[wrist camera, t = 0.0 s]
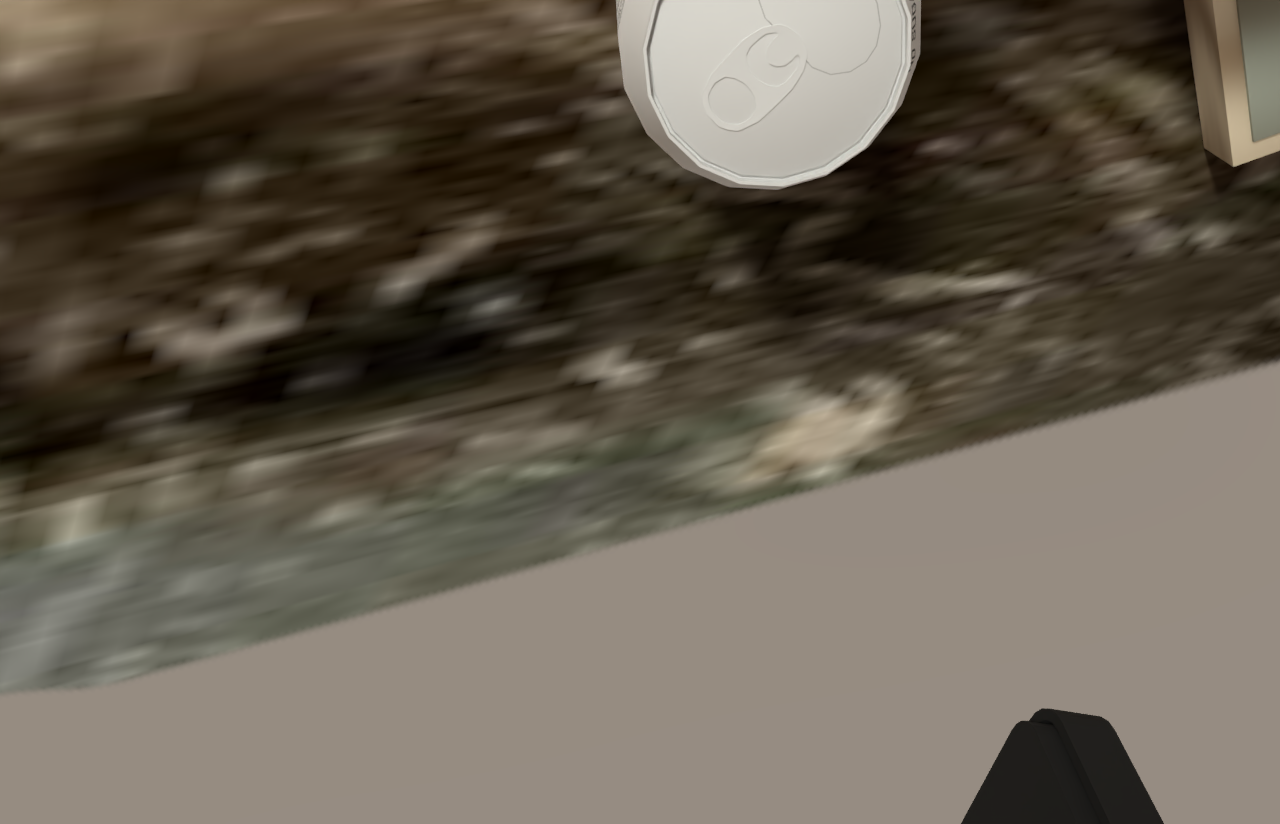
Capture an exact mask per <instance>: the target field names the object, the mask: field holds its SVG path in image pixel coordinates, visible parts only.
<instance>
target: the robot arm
mask: <svg viewBox="0 0 1280 824" xmlns="http://www.w3.org/2000/svg"><path fill="white" fill-rule="evenodd" d="M961 824H1164V823H1163V821H1162V819H1161V817H1160V815H1159V813H1158V812H1157V810H1156V808H1155V806H1154V804H1153V802H1152V800H1151V798H1150V796H1149V794H1148V792H1147V791H1146V789H1145V787H1144V785H1143V783H1142V781H1141V779H1140V777H1139V776H1138V774H1137V772H1136V770H1135V768H1134V766H1133V764H1132V762H1131V760H1130V758H1129V756H1128V754H1127V752H1126V750H1125V749H1124V747H1123V745H1122V743H1121V741H1120V739H1119V737H1118V735H1117V733H1116V732H1115V730H1114V728H1113V727H1112V726H1111V724H1110V723H1109V722H1108V721H1107V720H1105V719H1104V718H1102V717H1100V716H1093V715H1087V714H1080V713H1073V712H1067V711H1060V710H1054V709H1041V710H1039V711H1037V712H1036V713H1035V714H1034V715H1033V716H1032V718H1031V719H1030V720H1029V721H1020V722H1019V723H1017V724H1016V725H1015V727H1014V728H1013V729H1012V731H1011V733H1010V735H1009V736H1008V738H1007V740H1006V742H1005V744H1004V746H1003V748H1002V750H1001V751H1000V753H999V755H998V757H997V759H996V760H995V762H994V764H993V766H992V768H991V770H990V771H989V773H988V775H987V777H986V779H985V781H984V783H983V784H982V786H981V788H980V790H979V792H978V793H977V795H976V797H975V799H974V801H973V803H972V804H971V806H970V808H969V810H968V812H967V814H966V816H965V818H964V819H963V821H962V823H961Z"/></svg>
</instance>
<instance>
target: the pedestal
mask: <svg viewBox="0 0 1280 824" xmlns="http://www.w3.org/2000/svg"><path fill="white" fill-rule="evenodd" d="M1184 7H1185V14H1186V21H1187V29H1188V36H1189V43H1190V50H1191V58H1192V65H1193V72H1194V79H1195V87H1196V94H1197V101H1198V109H1199V116H1200V123H1201V130H1202V138H1203V145H1204V148H1205V149H1206V150H1208V151H1210V152H1211V153H1213V154H1214V155H1216V156H1217V157H1219V158H1220V159H1222V160H1223V161H1225V162H1226V163H1228V164H1229V165H1231V166H1232V167H1235V166H1238V165H1241V164H1243V163H1246V162H1249V161H1252V160H1255V159H1257V158H1260V157H1263V156H1266V155H1268V154H1271V153H1274V152H1277V151H1280V0H1184Z"/></svg>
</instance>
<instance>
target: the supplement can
mask: <svg viewBox="0 0 1280 824" xmlns="http://www.w3.org/2000/svg"><path fill="white" fill-rule="evenodd" d="M616 7H617V26H618V40H619V48H620V57H621V65H622V74H623V83H624V89H625V91H626V93H627V95H628V97H629V99H630V101H631V103H632V105H633V107H634V109H635V111H636V113H637V115H638V117H639V119H640V121H641V123H642V125H643V127H644V129H645V131H646V133H647V135H648V136H650V137H651V138H652V139H653V140H654V141H655V142H656V143H657V144H658V145H659V146H660V147H661V148H662V149H663V150H664V151H665V152H667V153H668V154H669V155H670V156H671V157H672V158H673V159H674V160H675V161H676V162H677V163H678V164H679V165H680V166H681V167H683V168H684V169H686V170H689V171H691V172H693V173H696V174H698V175H701V176H703V177H705V178H708V179H710V180H712V181H715V182H717V183H720V184H722V185H724V186H727V187H734V188H753V189H772V190H779V189H782V188H786V187H789V186H792V185H796V184H799V183H803V182H806V181H810V180H813V179H817V178H820V177H824V176H827V175H828V174H829V173H831V172H832V171H834V170H835V169H837V168H838V167H840V166H841V165H843V164H844V163H846V162H847V161H849V160H850V159H851V158H853V157H854V156H856V155H857V154H859V153H860V152H862V151H863V150H865V149H866V148H868V147H869V146H870V145H871V143H872V142H873V141H874V139H875V138H876V137H877V136H878V134H879V133H880V132H881V130H882V129H883V128H884V127H885V125H886V124H887V123H888V121H889V120H890V119H891V118H892V116H893V115H894V114H895V112H896V111H897V110H898V108H899V107H900V106H901V105H902V102H903V99H904V97H905V94H906V91H907V88H908V85H909V83H910V80H911V77H912V74H913V71H914V69H915V66H916V63H917V60H918V58H919V55H920V26H921V0H616Z"/></svg>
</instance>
